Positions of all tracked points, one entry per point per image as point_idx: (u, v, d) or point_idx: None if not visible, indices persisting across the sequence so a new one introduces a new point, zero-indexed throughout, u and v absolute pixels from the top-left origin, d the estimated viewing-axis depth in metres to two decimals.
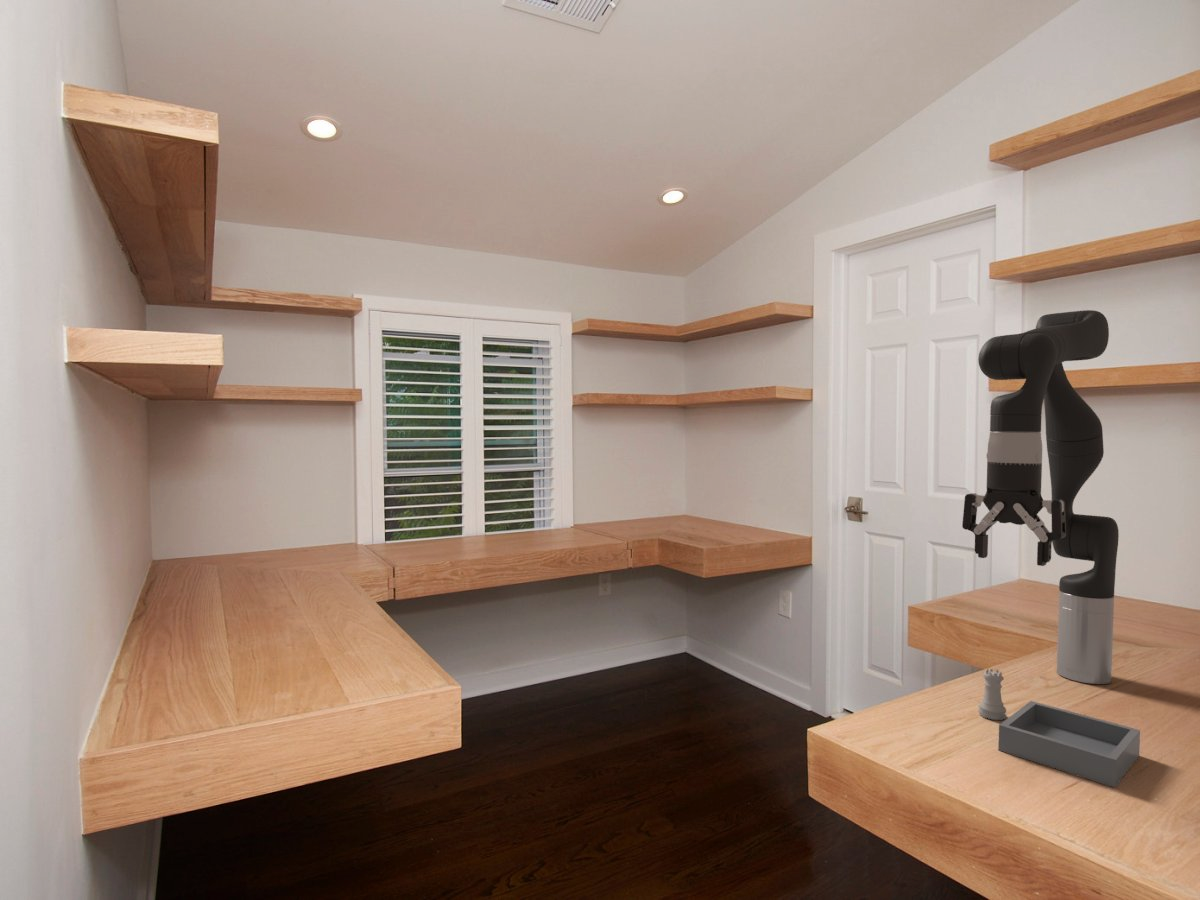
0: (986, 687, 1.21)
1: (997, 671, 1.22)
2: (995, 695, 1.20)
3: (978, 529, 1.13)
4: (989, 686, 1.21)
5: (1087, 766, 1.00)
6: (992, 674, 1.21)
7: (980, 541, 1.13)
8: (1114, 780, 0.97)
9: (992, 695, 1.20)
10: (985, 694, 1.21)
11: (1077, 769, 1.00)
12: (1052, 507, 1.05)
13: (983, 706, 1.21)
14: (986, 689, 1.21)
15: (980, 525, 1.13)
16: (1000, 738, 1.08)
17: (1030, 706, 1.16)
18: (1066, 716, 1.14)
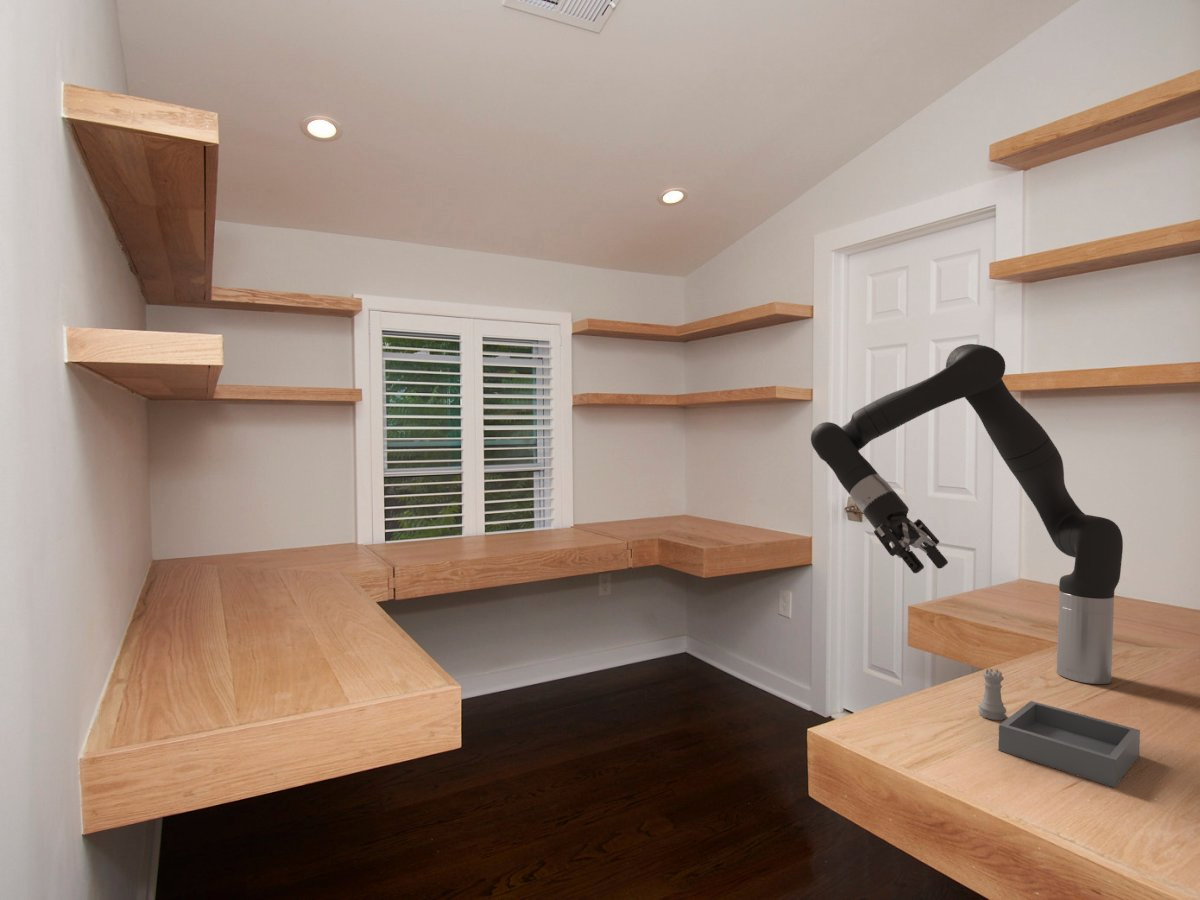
0: (986, 687, 1.21)
1: (997, 671, 1.22)
2: (995, 695, 1.20)
3: None
4: (989, 686, 1.21)
5: (1087, 766, 1.00)
6: (992, 674, 1.21)
7: (930, 557, 1.35)
8: (1114, 780, 0.97)
9: (992, 695, 1.20)
10: (985, 694, 1.21)
11: (1077, 769, 1.00)
12: None
13: (983, 706, 1.21)
14: (986, 689, 1.21)
15: None
16: (1000, 738, 1.08)
17: (1030, 706, 1.16)
18: (1066, 716, 1.14)
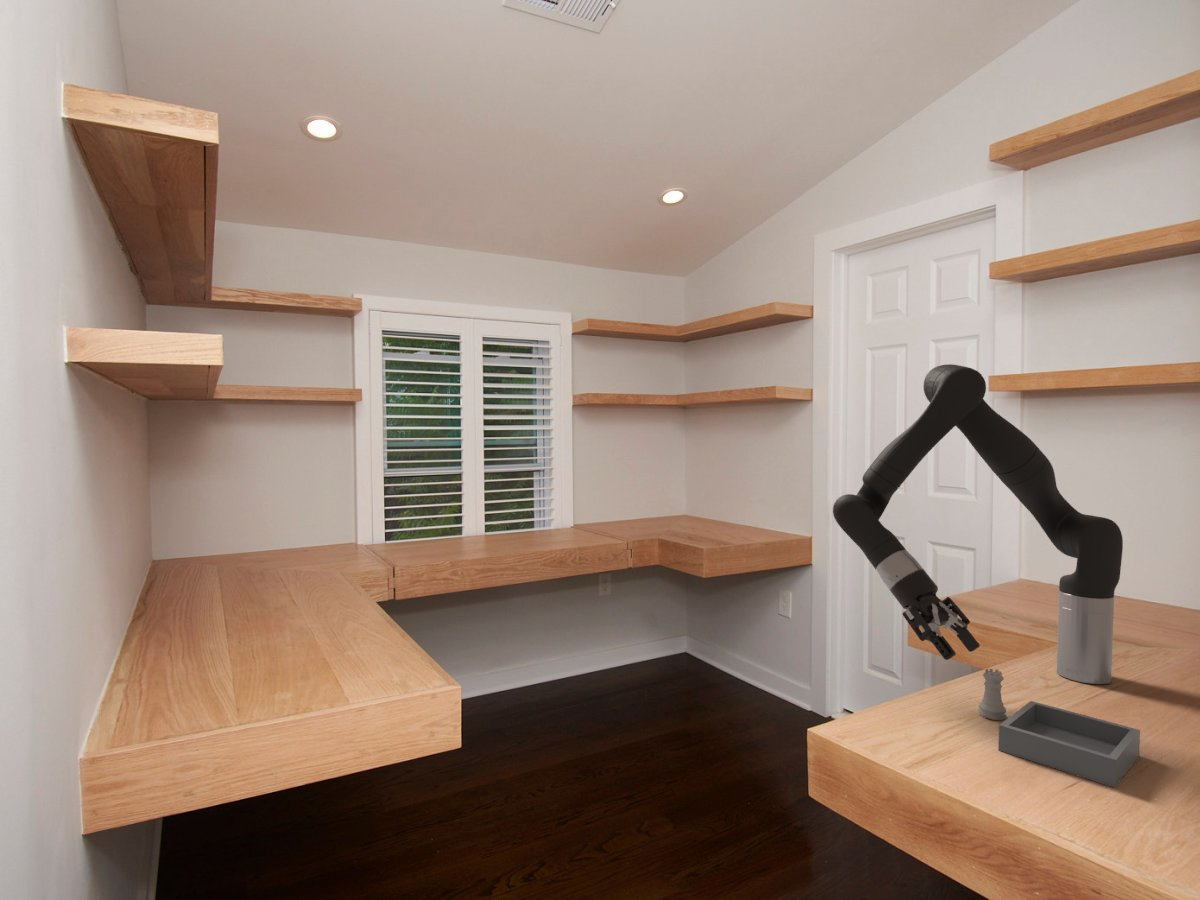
0: (986, 687, 1.21)
1: (997, 671, 1.22)
2: (995, 695, 1.20)
3: None
4: (989, 686, 1.21)
5: (1087, 766, 1.00)
6: (992, 674, 1.21)
7: None
8: (1114, 780, 0.97)
9: (992, 695, 1.20)
10: (985, 694, 1.21)
11: (1077, 769, 1.00)
12: None
13: (983, 706, 1.21)
14: (986, 689, 1.21)
15: None
16: (1000, 738, 1.08)
17: (1030, 706, 1.16)
18: (1066, 716, 1.14)
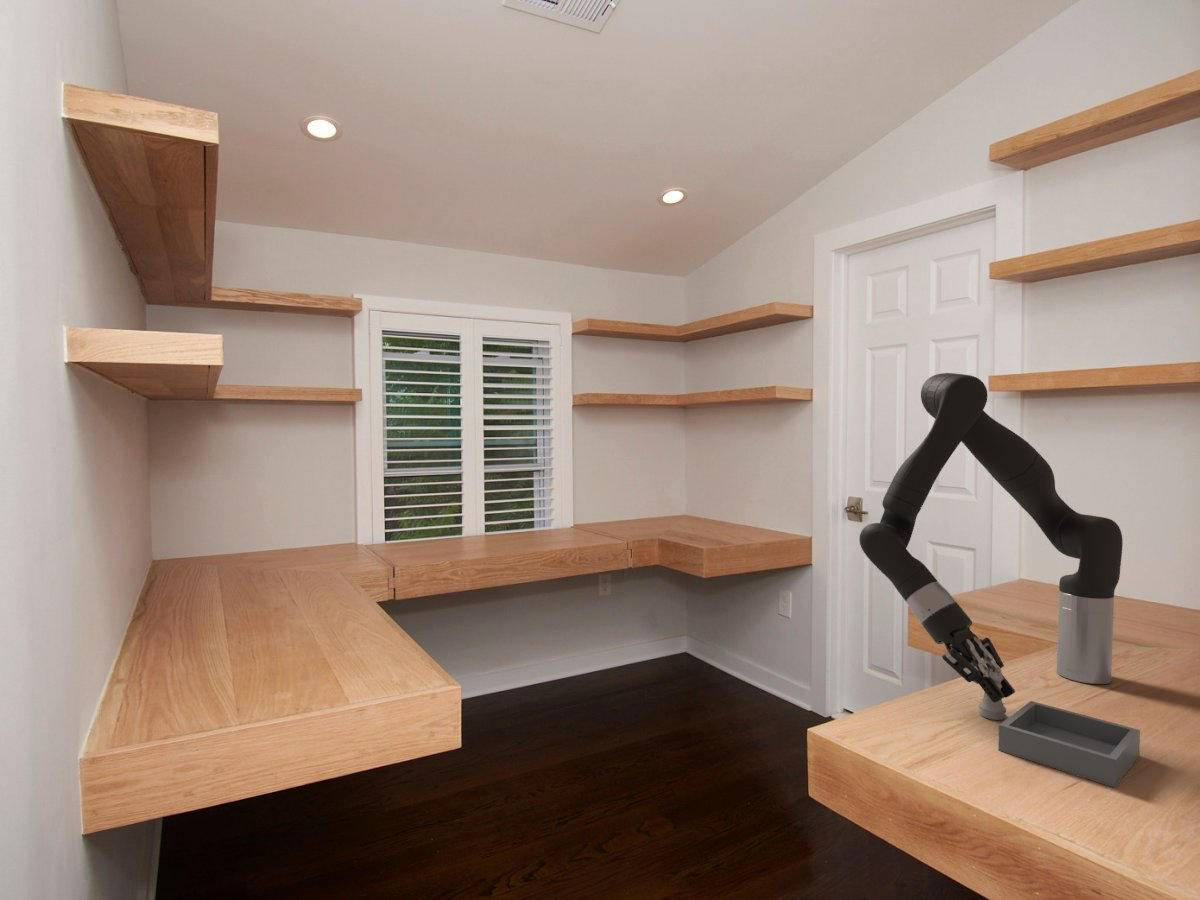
0: None
1: (997, 671, 1.22)
2: None
3: None
4: None
5: (1087, 766, 1.00)
6: (992, 674, 1.21)
7: None
8: (1114, 780, 0.97)
9: None
10: (985, 694, 1.21)
11: (1077, 769, 1.00)
12: None
13: (983, 706, 1.21)
14: None
15: None
16: (1000, 738, 1.08)
17: (1030, 706, 1.16)
18: (1066, 716, 1.14)
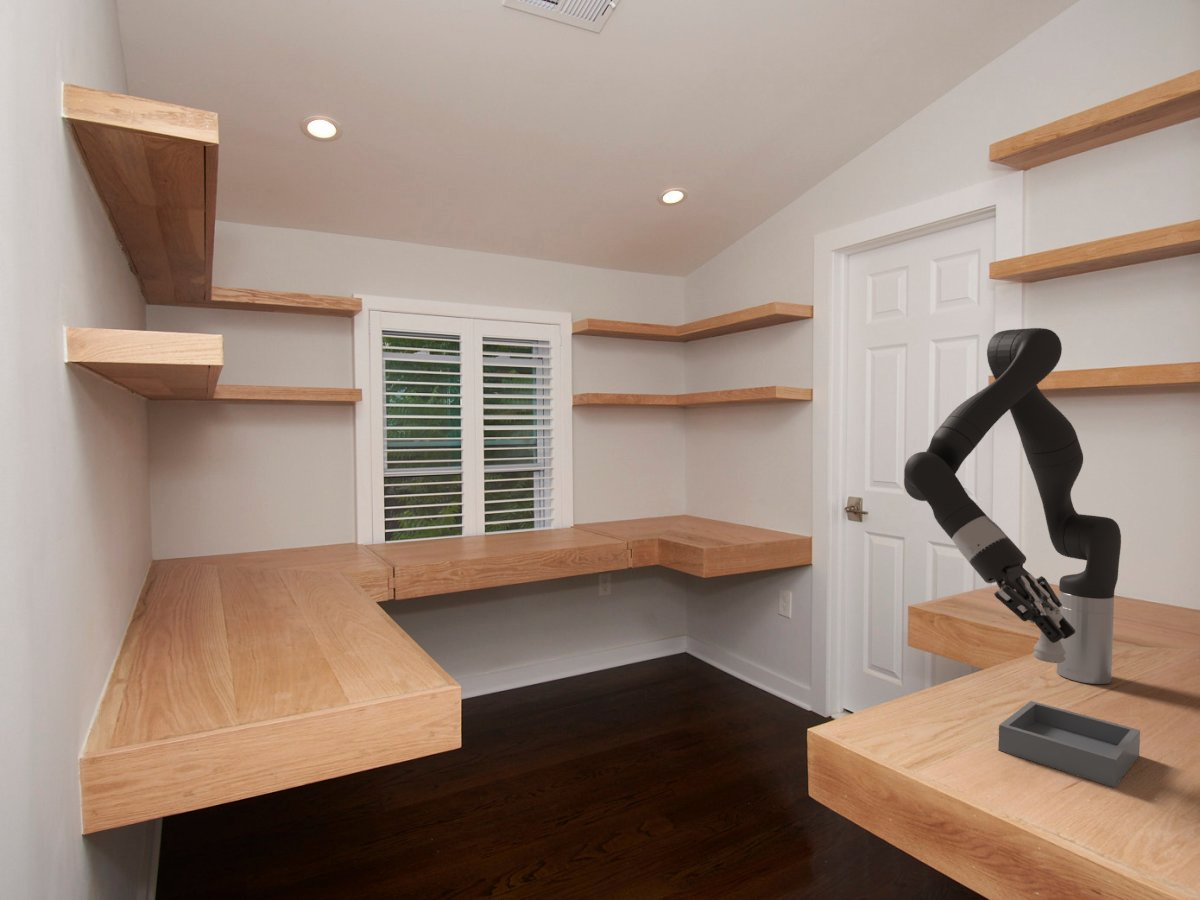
0: None
1: (1055, 610, 1.11)
2: None
3: None
4: None
5: (1087, 766, 1.00)
6: (1050, 612, 1.10)
7: None
8: (1114, 780, 0.97)
9: None
10: (1042, 635, 1.10)
11: (1077, 769, 1.00)
12: None
13: (1039, 648, 1.10)
14: None
15: None
16: (1000, 738, 1.08)
17: (1030, 706, 1.16)
18: (1066, 716, 1.14)
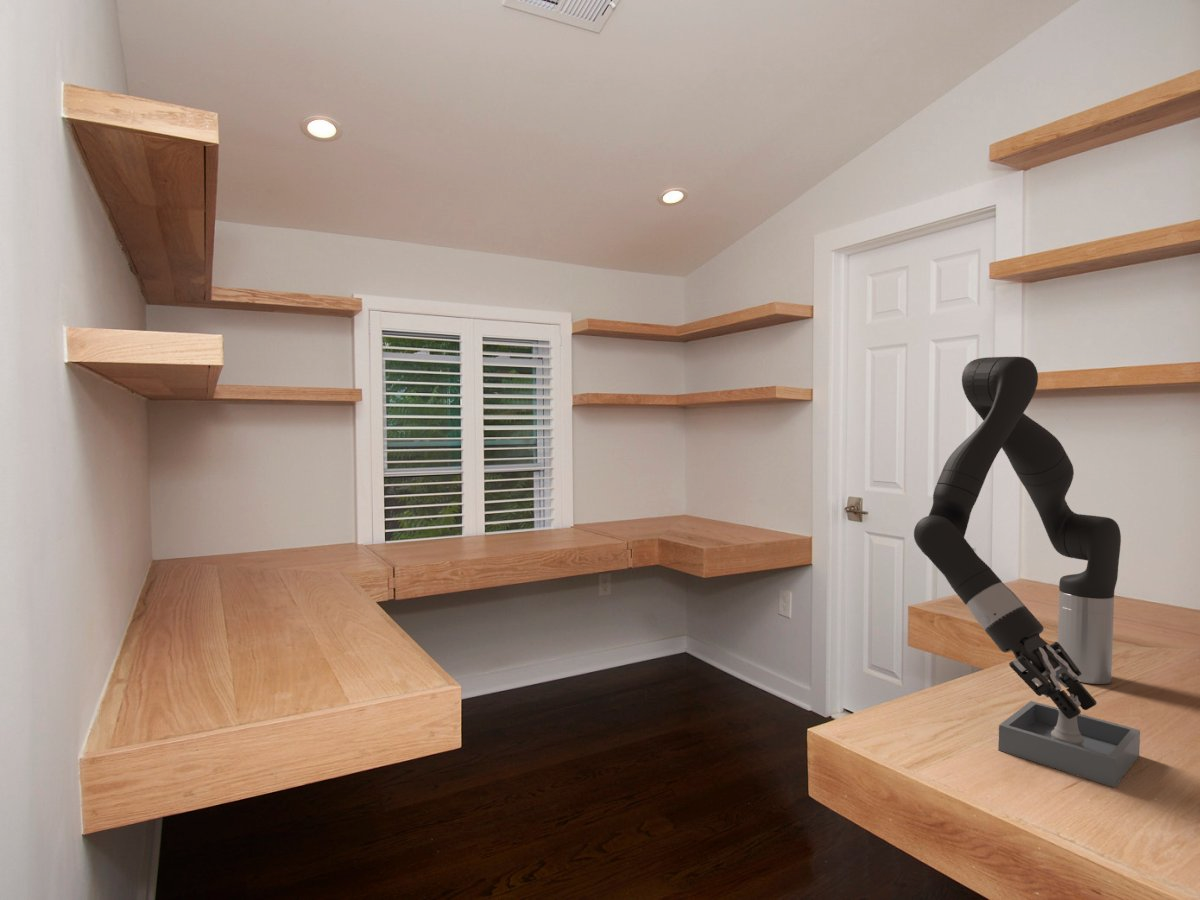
0: (1060, 714, 1.08)
1: (1072, 695, 1.08)
2: (1071, 723, 1.06)
3: None
4: None
5: (1087, 766, 1.00)
6: None
7: None
8: (1114, 780, 0.97)
9: (1068, 723, 1.07)
10: (1059, 721, 1.08)
11: (1077, 769, 1.00)
12: None
13: (1057, 735, 1.07)
14: (1060, 716, 1.08)
15: None
16: (1000, 738, 1.08)
17: (1030, 706, 1.16)
18: None
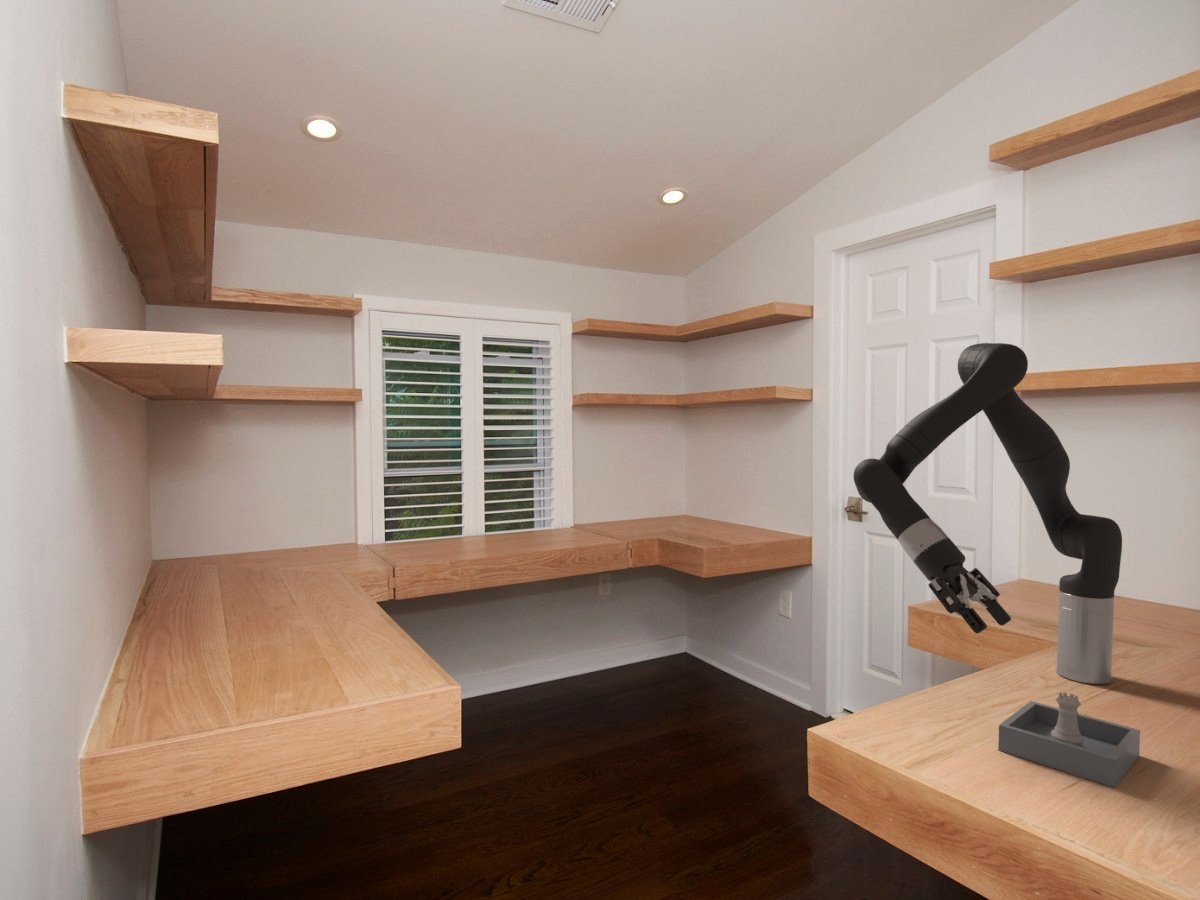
0: (1060, 714, 1.08)
1: (1072, 695, 1.08)
2: (1071, 723, 1.06)
3: None
4: (1064, 712, 1.07)
5: (1087, 766, 1.00)
6: (1067, 699, 1.07)
7: (990, 612, 1.21)
8: (1114, 780, 0.97)
9: (1068, 723, 1.07)
10: (1059, 721, 1.08)
11: (1077, 769, 1.00)
12: None
13: (1057, 735, 1.07)
14: (1060, 716, 1.08)
15: None
16: (1000, 738, 1.08)
17: (1030, 706, 1.16)
18: None
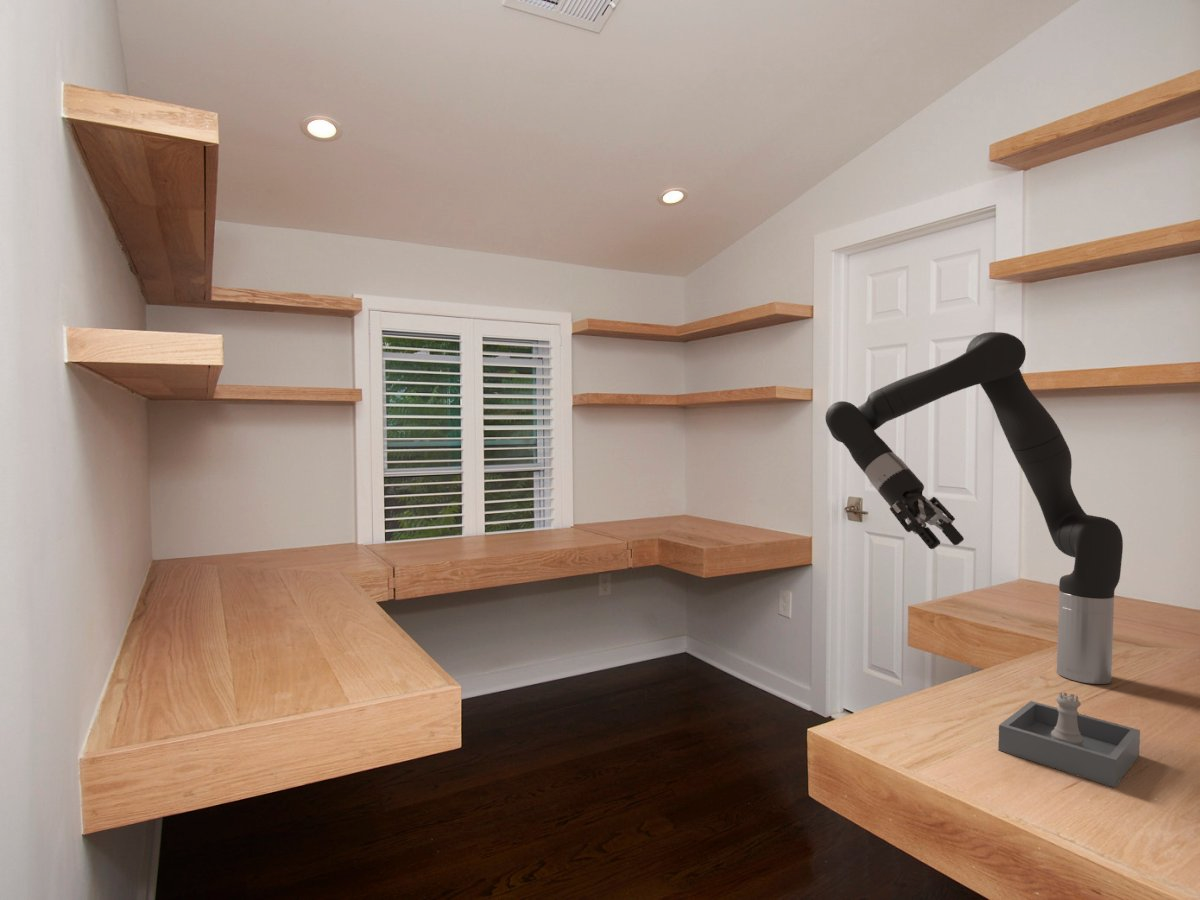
0: (1060, 714, 1.08)
1: (1072, 695, 1.08)
2: (1071, 723, 1.06)
3: None
4: (1064, 712, 1.07)
5: (1087, 766, 1.00)
6: (1068, 699, 1.07)
7: (946, 534, 1.35)
8: (1114, 780, 0.97)
9: (1068, 723, 1.07)
10: (1059, 721, 1.08)
11: (1077, 769, 1.00)
12: None
13: (1057, 735, 1.07)
14: (1060, 716, 1.08)
15: None
16: (1000, 738, 1.08)
17: (1030, 706, 1.16)
18: None
